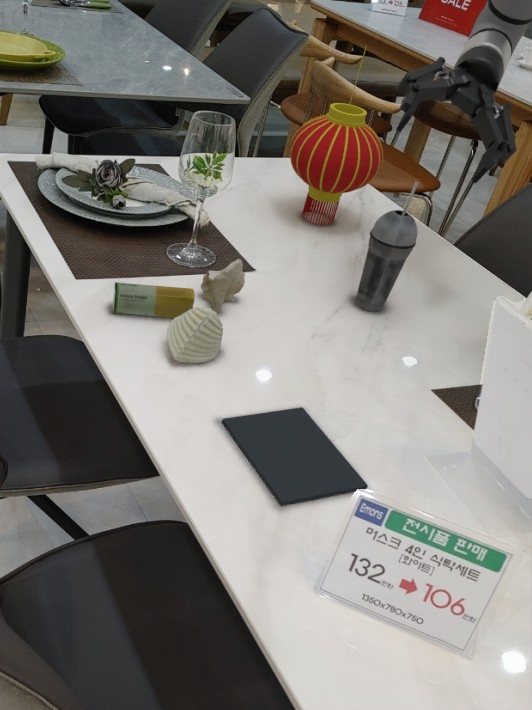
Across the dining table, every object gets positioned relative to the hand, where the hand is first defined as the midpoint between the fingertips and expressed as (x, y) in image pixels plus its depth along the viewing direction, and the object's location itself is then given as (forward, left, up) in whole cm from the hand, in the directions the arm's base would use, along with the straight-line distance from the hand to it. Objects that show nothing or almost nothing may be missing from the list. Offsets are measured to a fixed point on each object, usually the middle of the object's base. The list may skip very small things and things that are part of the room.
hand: (441, 150), depth 112 cm
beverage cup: (0, +4, -25) cm, 25 cm away
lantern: (+32, -5, -25) cm, 41 cm away
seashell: (-7, +40, -25) cm, 47 cm away
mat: (-32, +37, -25) cm, 55 cm away
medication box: (+3, +42, -25) cm, 48 cm away
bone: (+5, +30, -25) cm, 39 cm away
